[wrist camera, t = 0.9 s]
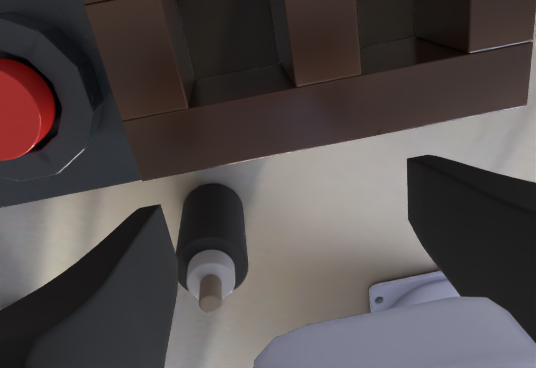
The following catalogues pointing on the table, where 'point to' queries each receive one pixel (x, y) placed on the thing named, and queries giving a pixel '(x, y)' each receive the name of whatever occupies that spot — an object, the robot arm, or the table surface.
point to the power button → (23, 108)
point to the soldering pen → (212, 245)
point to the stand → (307, 78)
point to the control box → (64, 105)
